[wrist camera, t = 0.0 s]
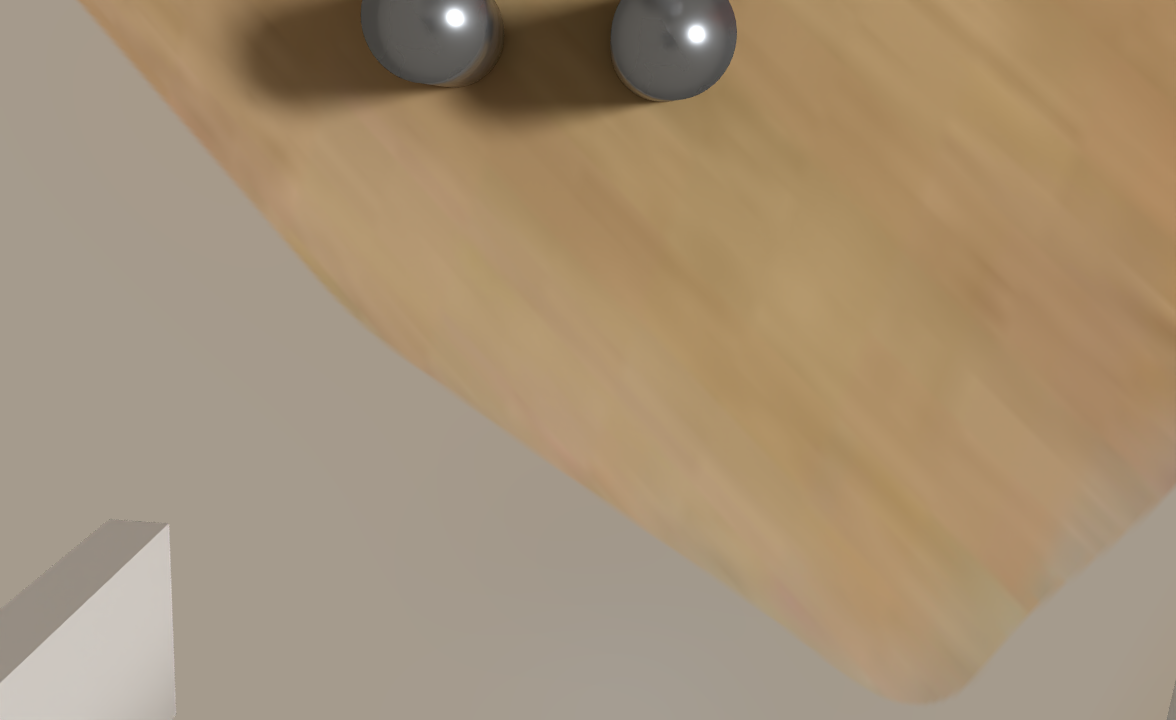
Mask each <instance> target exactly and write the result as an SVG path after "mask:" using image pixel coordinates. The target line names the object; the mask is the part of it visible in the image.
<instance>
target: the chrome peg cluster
mask: <svg viewBox="0 0 1176 720" xmlns="http://www.w3.org/2000/svg"><path fill="white" fill-rule="evenodd" d="M361 24H362V30H363V34H364V37H365V40H366V42H367V44H368V47H369V48H370V50H371V52H372V53H373V55H374V56H375V58H376V59H377V60H378V61H379V62H380V63H381V64H382V65H383V66H384V67H385V68H386V69H387V70H389V71H390V72H391V73H393V74H395V75H396V76H398V77H400V78H403V79H405V80H408V81H412V82H416V83H423V84H430V85H437V86H443V87H463V86H467V85H470V84H472V83H475V82H477V81H478V80H480V79H482V78H483V77H484V76H485V75H487V74H488V73H489V72H490V71H491V69H492V68H493V67H494V65H495V64H496V62H497V61H498V59H499V57H500V54H501V52H502V48H503V44H504V24H503V19H502V15H501V13H500V10H499V8H498V6H497V4H496V2H495V1H494V0H362V5H361ZM736 39H737V28H736V20H735V16H734V12H733V10H732V7H731V5H730V3H729V1H728V0H621V1H620V3H619V5H618V7H617V9H616V12H615V14H614V18H613V22H612V29H611V41H610V52H611V59H612V63H613V66H614V69H615V71H616V73H617V75H618V77H619V78H620V80H621V81H622V82H623V84H624V85H625V86H626V87H627V88H628V89H629V90H631V91H632V92H633V93H635V94H636V95H638V96H640V97H642V98H645V99H648V100H651V101H658V102H667V101H674V100H681V99H686V98H690V97H693V96H696V95H698V94H700V93H702V92H704V91H705V90H707V89H708V88H710V87H711V86H712V85H714V84H715V83H716V82H717V81H718V80H719V79H720V77H721V76H722V75H723V74H724V72H725V71H726V69H727V67H728V66H729V64H730V61H731V59H732V57H733V54H734V50H735V46H736Z"/></svg>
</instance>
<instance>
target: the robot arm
mask: <svg viewBox="0 0 1176 720" xmlns="http://www.w3.org/2000/svg"><path fill="white" fill-rule="evenodd" d="M175 715H176V700H175V672H174V645H173V620H172V592H171V564H170V539H169V523H156V522H142V521H127V520H113V519H109V520H108V521H106V522H105V523H104V524H103V525H101V526H100V527H99V528H98V529H97V530H95V531H94V532H93V533H92V534H91V535H89V536H88V537H87V538H86V539H84V540H83V541H82V542H81V543H80V544H79V545H77V546H76V547H75V548H74V549H72V550H71V551H70V552H69V553H68V554H66V555H65V556H64V557H63V558H61V559H60V560H59V561H58V562H57V563H55V564H54V565H53V566H52V567H50V568H49V569H48V570H47V571H46V572H44V573H43V574H42V575H41V576H40V577H38V578H37V579H36V580H35V581H34V582H32V583H31V584H30V585H29V586H28V587H26V588H25V589H24V590H23V591H21V592H20V593H19V594H18V595H16V596H15V597H14V598H13V599H12V600H11V601H9V602H8V603H7V604H6V605H4V606H3V607H2V608H1V609H0V720H172V719H173V718H174V716H175ZM1167 720H1176V682H1175V686H1174V690H1173V695H1172V699H1171V703H1170V707H1169V712H1168V716H1167Z"/></svg>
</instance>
